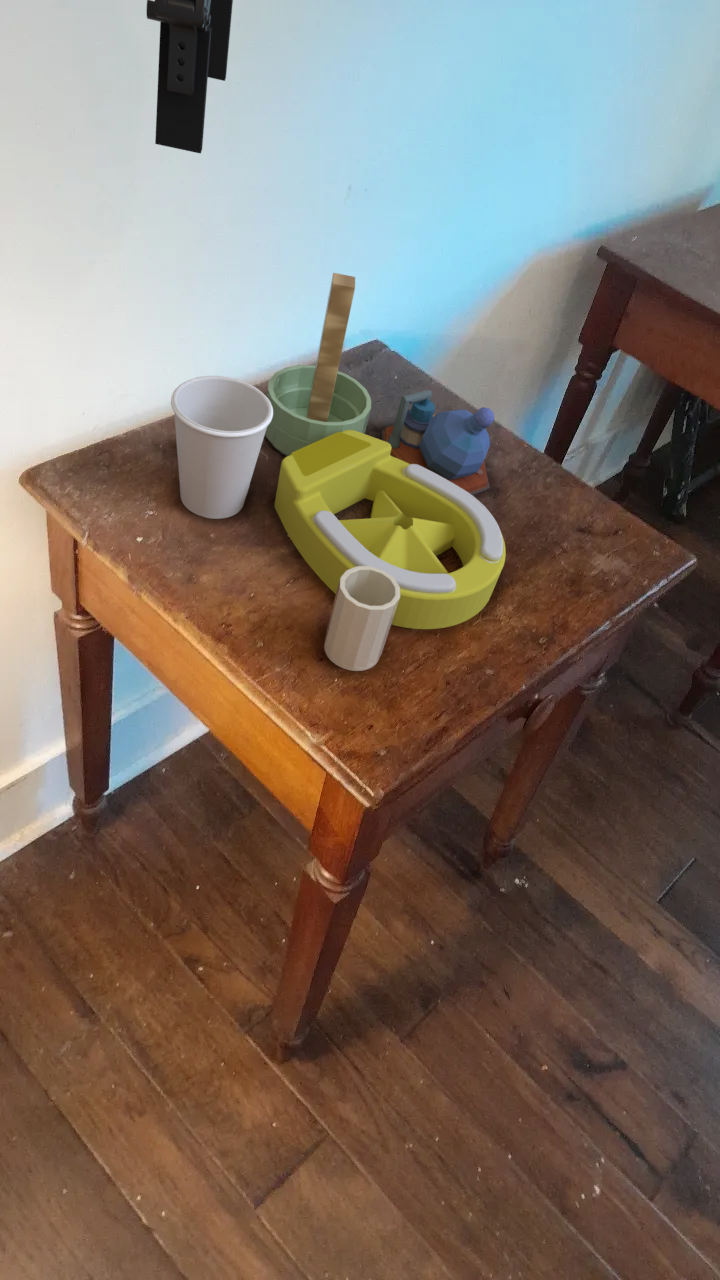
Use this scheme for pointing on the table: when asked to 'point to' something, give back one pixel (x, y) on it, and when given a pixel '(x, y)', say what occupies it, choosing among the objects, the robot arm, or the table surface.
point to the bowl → (291, 407)
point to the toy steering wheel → (390, 527)
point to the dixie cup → (218, 442)
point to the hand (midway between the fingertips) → (193, 108)
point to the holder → (361, 617)
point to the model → (442, 440)
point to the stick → (331, 346)
